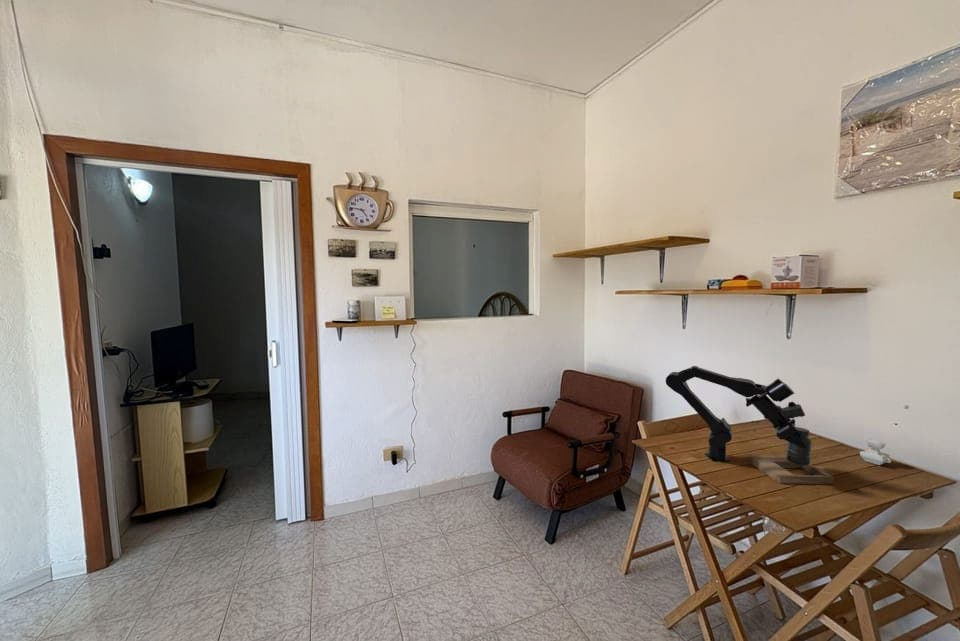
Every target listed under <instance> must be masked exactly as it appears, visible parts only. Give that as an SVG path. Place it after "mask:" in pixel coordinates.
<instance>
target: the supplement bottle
mask: <svg viewBox="0 0 960 641" xmlns="http://www.w3.org/2000/svg"><path fill="white" fill-rule="evenodd" d="M795 427H796V428H797V429H798V433H797V434H798V436H799V437H800V438H801V440H802V441H803V442H804V444H805V445H806V447H807V448H805V449H803V448H801V447H799V446H797V445H795V444H793V443H791V442H788V441H787V444H786V455H785V456H786V458H787V460H789V461H790V462H793V463H796V464H800V465H808V464H811V460H812V459H811V456H812V447H813V441H812V438H810V430H809V429H807V428H804V427H799V426H795Z"/></svg>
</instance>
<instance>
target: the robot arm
mask: <svg viewBox="0 0 960 641" xmlns="http://www.w3.org/2000/svg"><path fill="white" fill-rule="evenodd" d="M693 378H697V379H700V380H703V381H706V382H709V383H712V384H715V385H718V386H722V387H724V388H728V389H729V390H731V391H732V392H734V393H736V394H738V395H740V396H742V397H743V398H745V401H746V403H745V407H747V408H748V407H750V406H751V405H753V406H754V407H755V409H756V410H758V411H759V412H760V414H761V415H762V416H763V418H764V419H765V420H767V421H768V422H769V423H770V424H771V425H772V427H773V428H774V429H775V435H776V437H778V439H779V440H780V441H781V440H783V441H787V442H791V443H793V444H795V445H797V446H799V447H801V448H803V449H805V448H807V447H806V445H805V444H804V442H803V441H802V440H801V438H800V437H799V436H798V434H797V433H798V429H797V428H796V427H797V426H796V420H795V418H798V417H801V418H803V417H805V416H806V413H805V412H804V410H803V407H802V405H801V404H799V403H797V404H796V403H795V402H794V401H790V402H788V403H787V406H785V407H782V406H780V405H777V404H776V403H775V402H779V403H781V402H783V401H784V400H786V399H788V398H789V397H790V396H793V395H794V394H795V391H794V390H793V389H792V388H791V387H790V386H789V385H788V384H787V383H785V382H784V381H783V380H781V379H780V378H776V379H774V381H772V382H770V384H768V385H765V384H760V383H756V382H755V381H753V380H752V379H748V378H742V377H732V376H731V377H730V376H728V375H725V374H721V373H719V372H714V371H712V370H708V369H705V368H701V367H699V366H697V365H692V366H690V367H688V368H685V369H683V370H680V371H672V372H670V373H669V374H668V375H667V376H666V378H665V384H666V386H668V388H670V390H672V391H674V392H675V393H677V394H678V395H680V396H681V397H682V398H683V399H684V401H686V402H687V403H688V405H689V406H690V407H691V408H692V409H693V410H694V411H695V412H696V413H697V414H698V415H699V417H701V419H702V420H703V421H704V422H705V423H706V424H707V425H708V426H707V427H709V430H710V431H711V432H710V433H709V436H708V440H707V441H708V452H704V456H706V457H707V458H708V459H710V461H712V462H730V459H729V458H728V457H726V454H727V452H726V451H727V444H728V443H730V442H731V441H732V440H733V432H734V430H733V429H732V425H731V424H730V423H728V422H727V420H726V419H725V418H724V417H722V418H718V417H717V416H716V415H715V414H714V413H713V412H712V411H711V409H709V407H708V406H706V404H705V403H704V402H703V401H702V400H701V399H700V398H699V397H698V396H697V395H696V394H695V393H694V392H693V391H692V390H691V388H690V387H689V384H688V383H687V382H688V381H689V380H691V379H693ZM773 401H774V402H773Z"/></svg>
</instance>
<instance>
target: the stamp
mask: <svg viewBox="0 0 960 641" xmlns="http://www.w3.org/2000/svg"><path fill="white" fill-rule="evenodd" d="M866 445H867V447H868V448H869V449H866V450H864V451H863V450H861V451H860V452H859V454H860V455H859V456H860V457H861V458H862V459H863V461H864V462H867V463H871V464H874V465H878V466H880V465H881V466H882V465H883V464H885V463H887V464H890V463H891V462H892V461H891V455H890V454H889V453H885V452H881V451H880V450H882V449H884V448H885V446H886V442H884V441H879V440H874V439H869V440H867V443H866ZM870 448H871V449H870Z"/></svg>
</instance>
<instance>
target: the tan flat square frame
mask: <svg viewBox="0 0 960 641" xmlns="http://www.w3.org/2000/svg"><path fill="white" fill-rule="evenodd" d="M747 462H748V463H750V464H752V466H754V467H756V468H757V469H758V470H760V471H761V472H762V473H764V474H765V475H767V476H768V477H770V478H771V479H773V480H774V481H775V482H777V483H778V484H795V485H796V484H797V485H798V484H801V485H803V484H806V485H808V484H809V485H810V484H812V485H815V484H818V485H819V484H821V485H829V484H830V485H834V479H835V478H834V476H833V475H831V474H829V473H828V472H826V471H824V470H822V469H820V468H819V467H817V466H816V465H813V464H811V463H810V464H808V465H800V464H796V463H793V462H790V461H789V460H787V458H786V455H761V454H760V455H753V454H751V455H748V459H747ZM787 468H789V469H790V468H791V469H797V468H798V469H803V470H804V471H805V472H808V473H810V474H812V475H806V474H805V475H803V474H802V475H801V474H793V473H792V472H790V471H788V470H787Z"/></svg>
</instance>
